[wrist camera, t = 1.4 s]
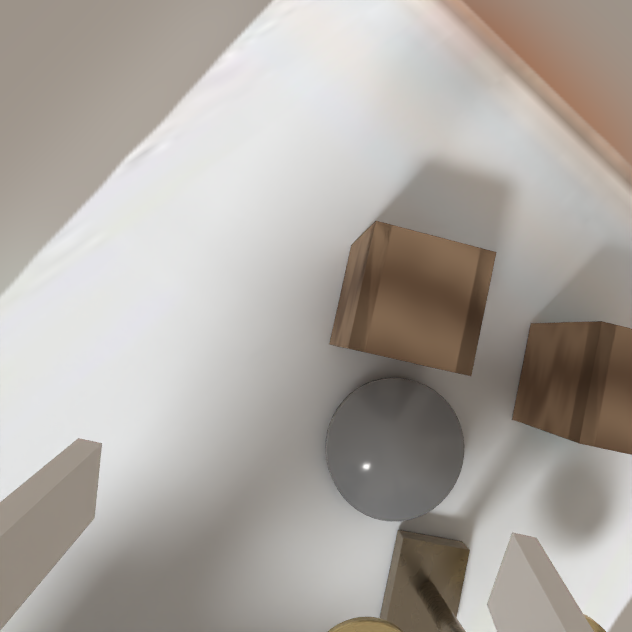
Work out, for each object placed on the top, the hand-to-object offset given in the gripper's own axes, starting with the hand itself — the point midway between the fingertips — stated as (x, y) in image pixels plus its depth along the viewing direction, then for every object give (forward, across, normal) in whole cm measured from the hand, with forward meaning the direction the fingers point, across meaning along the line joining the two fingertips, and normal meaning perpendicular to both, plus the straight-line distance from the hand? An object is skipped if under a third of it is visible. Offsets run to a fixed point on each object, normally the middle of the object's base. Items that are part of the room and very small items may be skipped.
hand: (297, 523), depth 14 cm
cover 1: (+26, -5, -3) cm, 27 cm away
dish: (+23, -8, +9) cm, 26 cm away
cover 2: (+28, -23, +1) cm, 36 cm away
